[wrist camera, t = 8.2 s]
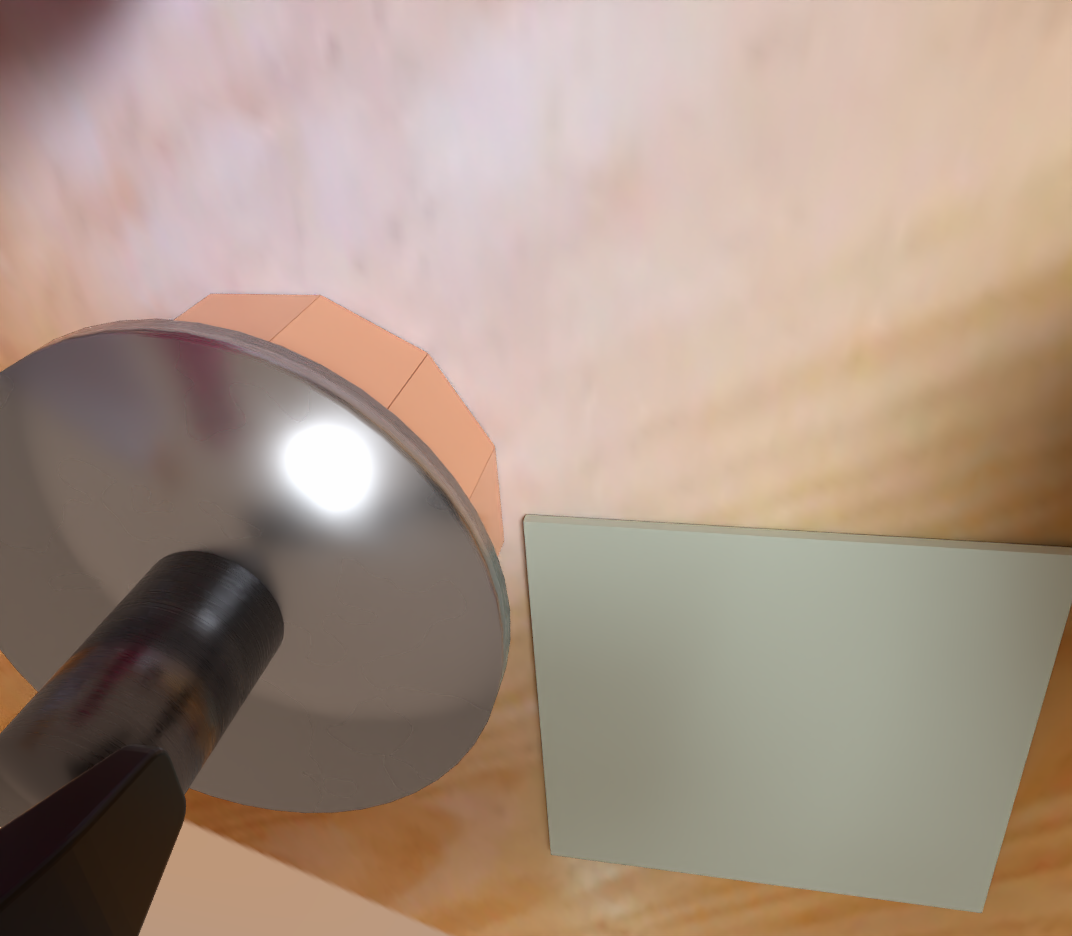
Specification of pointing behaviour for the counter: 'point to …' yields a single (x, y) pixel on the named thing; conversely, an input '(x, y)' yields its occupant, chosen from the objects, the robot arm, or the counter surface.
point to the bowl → (374, 379)
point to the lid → (234, 575)
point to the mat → (790, 700)
